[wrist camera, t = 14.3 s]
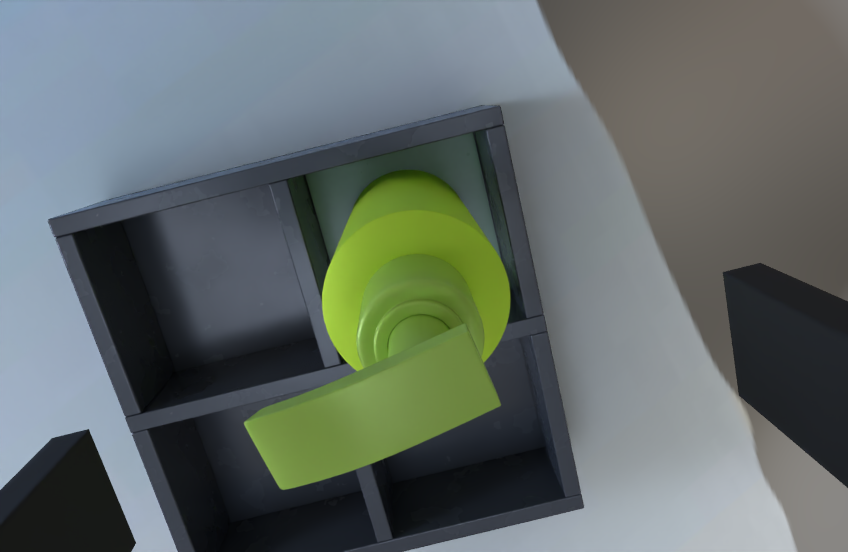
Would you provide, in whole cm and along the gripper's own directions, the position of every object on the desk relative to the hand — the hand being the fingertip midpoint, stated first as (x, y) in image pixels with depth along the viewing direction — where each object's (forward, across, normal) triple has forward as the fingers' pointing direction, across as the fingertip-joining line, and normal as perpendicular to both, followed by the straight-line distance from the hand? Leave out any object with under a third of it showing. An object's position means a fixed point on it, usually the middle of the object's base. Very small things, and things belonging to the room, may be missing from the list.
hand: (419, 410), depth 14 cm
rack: (+22, -4, -5) cm, 23 cm away
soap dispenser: (+21, 0, 0) cm, 21 cm away
